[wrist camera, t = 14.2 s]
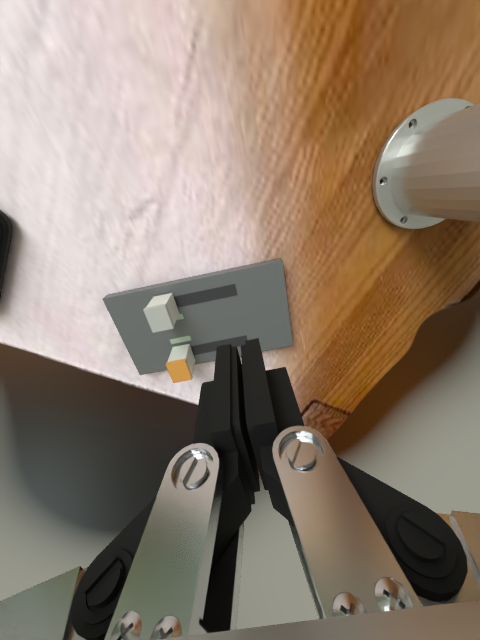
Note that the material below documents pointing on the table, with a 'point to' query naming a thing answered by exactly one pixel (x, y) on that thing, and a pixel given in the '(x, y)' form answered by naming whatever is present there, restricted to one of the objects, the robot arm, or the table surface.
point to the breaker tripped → (181, 363)
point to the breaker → (161, 312)
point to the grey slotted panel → (207, 314)
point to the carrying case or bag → (4, 244)
